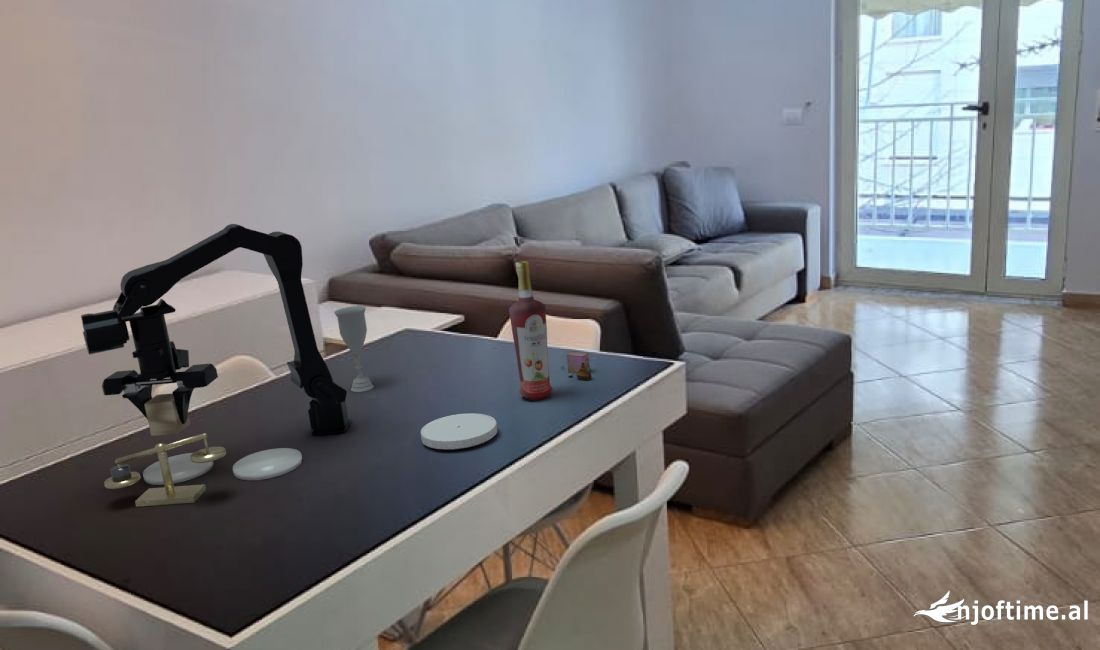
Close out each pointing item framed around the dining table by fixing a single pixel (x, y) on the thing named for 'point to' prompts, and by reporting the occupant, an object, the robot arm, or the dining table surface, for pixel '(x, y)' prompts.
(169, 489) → the balance
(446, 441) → the plastic lid
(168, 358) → the robot arm
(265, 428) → the dining table surface
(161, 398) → the block
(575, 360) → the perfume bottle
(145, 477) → the pale round disc
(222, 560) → the dining table surface
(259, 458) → the shallow white plate
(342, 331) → the chalice
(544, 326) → the liquor
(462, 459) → the dining table surface
